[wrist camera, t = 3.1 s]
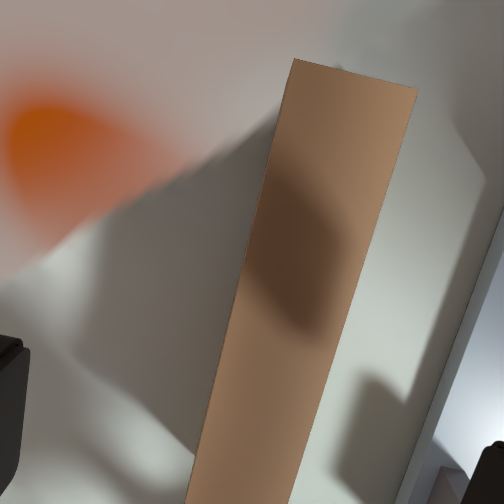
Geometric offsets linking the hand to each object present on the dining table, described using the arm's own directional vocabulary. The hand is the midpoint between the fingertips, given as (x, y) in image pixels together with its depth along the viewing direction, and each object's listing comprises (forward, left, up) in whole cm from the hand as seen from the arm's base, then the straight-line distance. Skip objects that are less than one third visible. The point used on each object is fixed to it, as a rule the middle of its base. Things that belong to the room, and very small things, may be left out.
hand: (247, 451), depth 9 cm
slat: (-1, 0, -10) cm, 10 cm away
